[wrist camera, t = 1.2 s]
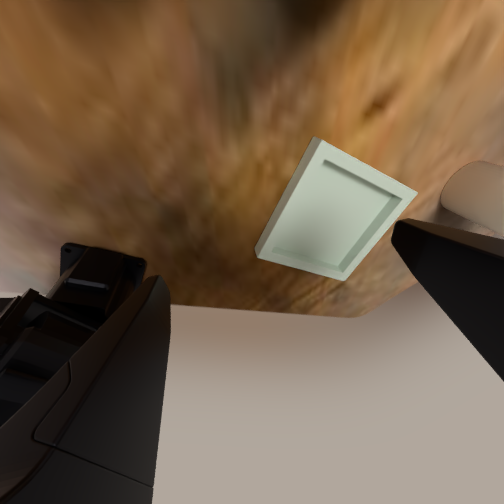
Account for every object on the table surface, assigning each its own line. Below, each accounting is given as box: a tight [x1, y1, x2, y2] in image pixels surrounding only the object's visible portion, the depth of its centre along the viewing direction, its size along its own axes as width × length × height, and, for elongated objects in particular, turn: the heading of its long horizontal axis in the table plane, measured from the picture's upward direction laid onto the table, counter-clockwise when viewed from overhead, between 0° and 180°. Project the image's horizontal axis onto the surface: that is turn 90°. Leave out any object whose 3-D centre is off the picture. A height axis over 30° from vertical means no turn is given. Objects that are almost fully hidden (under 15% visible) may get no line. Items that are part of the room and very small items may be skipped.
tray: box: [254, 136, 418, 281], centre depth 22 cm, size 11×11×2 cm
